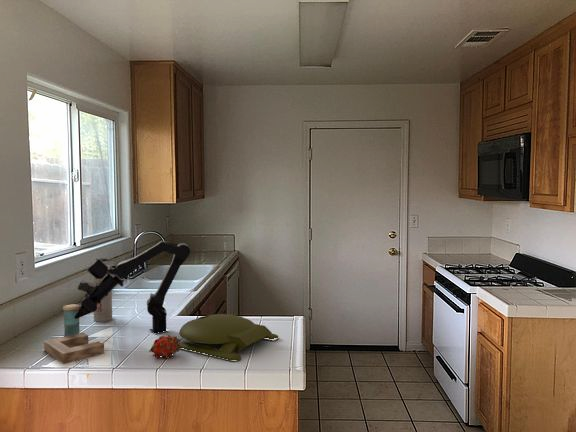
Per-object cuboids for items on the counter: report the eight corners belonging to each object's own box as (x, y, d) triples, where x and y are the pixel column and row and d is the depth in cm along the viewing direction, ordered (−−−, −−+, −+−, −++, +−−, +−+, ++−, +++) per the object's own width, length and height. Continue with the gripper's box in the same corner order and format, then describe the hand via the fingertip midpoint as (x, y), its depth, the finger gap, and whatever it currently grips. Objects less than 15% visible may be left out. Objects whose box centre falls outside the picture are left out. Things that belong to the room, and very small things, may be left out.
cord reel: (82, 338, 198) (81, 306, 197) (65, 341, 194) (64, 309, 194) (78, 334, 203) (77, 303, 203) (61, 337, 200) (60, 305, 199)
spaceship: (281, 339, 199) (281, 316, 199) (235, 364, 173) (235, 337, 172) (213, 326, 217) (213, 304, 216) (162, 346, 191) (162, 322, 190)
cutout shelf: (83, 341, 195) (83, 332, 195) (104, 353, 182) (104, 344, 181) (44, 350, 185) (44, 341, 184) (63, 363, 171) (63, 354, 171)
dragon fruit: (183, 357, 182) (152, 369, 175) (174, 340, 187) (143, 350, 180) (186, 344, 177) (154, 355, 170) (177, 326, 182) (145, 336, 175)
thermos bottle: (102, 322, 220) (100, 260, 218) (89, 320, 224) (88, 259, 222) (116, 318, 227) (114, 258, 225) (103, 315, 231) (102, 256, 229)
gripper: (92, 269, 208) (64, 296, 206) (87, 278, 190) (56, 307, 188) (112, 287, 211) (85, 313, 208) (109, 297, 193) (79, 326, 191)
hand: (76, 315), depth 199 cm, fingers open, 9 cm apart
